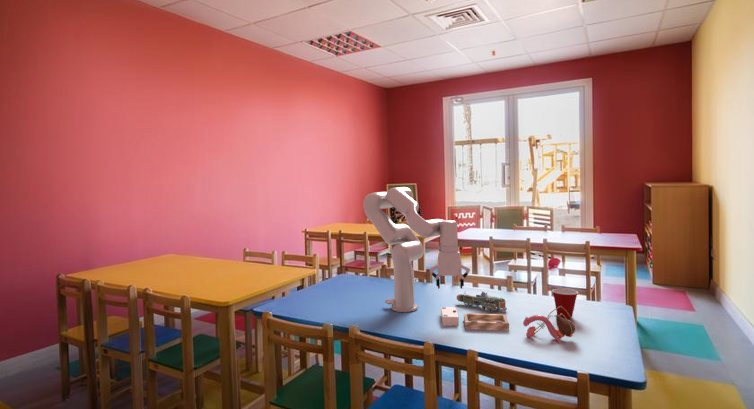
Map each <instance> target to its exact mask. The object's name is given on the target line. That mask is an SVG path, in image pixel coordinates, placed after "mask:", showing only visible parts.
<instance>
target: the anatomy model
mask: <svg viewBox="0 0 754 409" xmlns="http://www.w3.org/2000/svg"><path fill="white" fill-rule="evenodd" d="M560 307H562V306H560ZM558 308H559V307H558ZM558 308H556V307H555V309H553V310H551V311H550V312H549V314H548V315H547V316H544V315H541V314H535V315H534V314H533V315H530V316H529V317H528V316H525V318H524V320H523V322H522V324H523V326H524V327H527V326H529V325H530V324H531V323H533V322H537V323H536V324H537V325H539V326H538V327H536V326H534V325H533V326H529V327H528V328H527V332H526V334H525V336H526V337H527V338H532V337H533V336H535V335H536V334H537V333H538V332H539V331H540V330H542V329H544V328H545V327H546V328H547V330H548V332H549V334H550V336H551V337H552V338H553V339H555V340H556V341H557V342H558V343H559V344H561V343H562V341H561V339H560V338H565V336H566V337H567V338H572V337H574V336H573V335H574V334H575V332H576V325H575V324H574V322H573V320H572V318H571V316H570V315H569V313H568V312H567V311H566V310H565V309H564V308H563V307H562V308H563V309H564V310H565V311H566V312H567V313H568V315H569V316H570V319H567V318H566V317H565V316H564V315H563V314H562V313H561V314H562V315H563V316H564V317H565V319H564V318H562V317H560V316H561V314H560V315H557V314H555V318H556V319H555V320H556V321H555V322H556V325H557V329H556V327H555V326H554V325H553V323H552V322H551V320H550V318H551V317H552V315H551V314H552V313H553V312H554V311H556V309H558ZM538 321H539V322H538ZM537 329H538V330H537Z"/></svg>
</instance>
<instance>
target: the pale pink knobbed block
mask: <svg viewBox="0 0 754 409" xmlns="http://www.w3.org/2000/svg"><path fill="white" fill-rule="evenodd" d="M440 316H441V322H442V325H443V326H459V321H460V320H459V314H458V311H457V308H456V307H455V306H440Z"/></svg>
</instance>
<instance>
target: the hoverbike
mask: <svg viewBox="0 0 754 409" xmlns="http://www.w3.org/2000/svg"><path fill="white" fill-rule="evenodd" d="M466 293H467V292H466V291H464V294H461V293H460V294H458V295H457V296H456V300H457V301H458V302H461V303H463V305H464V306H466V307H467V306H469V308H471V307H473V306H476V307H478V308H479V307H481V310H482V311H485V310H486V309H488V310H490V313H493V312H494V311H495V312H497V313H499V309H500V310H501V311H500V312H501V313H505V312H506V311H507V310H508V308H507V306H506V305H507V304H506V302H507V301H506V300H505V298H504V297H503V298H502V296H501V297H497V296H492V295H488V292H485V291H482V292H481V294H476V295H475V296H474V295H471V294H466Z"/></svg>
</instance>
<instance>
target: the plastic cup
mask: <svg viewBox="0 0 754 409" xmlns="http://www.w3.org/2000/svg"><path fill="white" fill-rule="evenodd" d="M551 292H552V295H553V299H554V305H555V306H554V307H555V309H556V308H558V307H559V308H558V309H556V310H555V311H556V315H560V314H561V313H562V314H563V315H564V316H565V317H566V318H567V320H571V319H572V318H573V314H574V310H575V306H576V300H577V297H578V294H579V291H577V290H574V289H568V288H553V289H551ZM560 306H562V307H563V308H564V309H565V310H566V311H567V312H568V313H569V315H570V316H571V319H570V316H569V315H568V313H567V312H566V311H565V310H564V309H563V308H562V307H560ZM562 314H561V316H560V317H562V318H564V319H565V317H564V316H563V315H562Z"/></svg>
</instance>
